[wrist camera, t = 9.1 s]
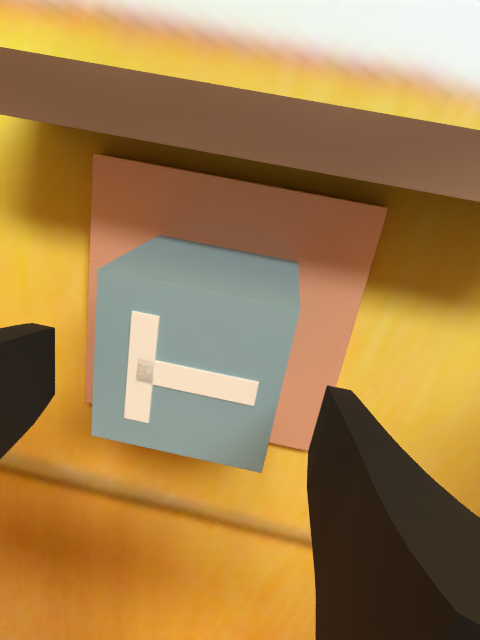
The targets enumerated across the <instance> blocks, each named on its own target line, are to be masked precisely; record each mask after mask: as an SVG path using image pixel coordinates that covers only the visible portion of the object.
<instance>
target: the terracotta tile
mask: <svg viewBox="0 0 480 640" xmlns="http://www.w3.org/2000/svg"><path fill="white" fill-rule="evenodd" d="M387 211H388V208H386V207H384V206H378V205H373V204H367V203H362V202H357V201H351V200H346V199H340V198H335V197H330V196H324V195H319V194H313V193H308V192H303V191H297V190H292V189H286V188H281V187H276V186H270V185H265V184H259V183H254V182H249V181H243V180H238V179H232V178H227V177H222V176H216V175H211V174H205V173H200V172H195V171H189V170H184V169H178V168H173V167H168V166H162V165H157V164H151V163H146V162H141V161H135V160H130V159H124V158H119V157H114V156H108V155H103V154H93V165H92V197H91V228H90V260H89V292H88V323H87V355H86V386H85V403H90V404H92V401H93V374H94V348H95V322H96V296H97V269H98V268H100V267H102V266H104V265H106V264H107V263H109V262H111V261H113V260H115V259H116V258H118V257H120V256H122V255H124V254H125V253H127V252H129V251H131V250H133V249H135V248H136V247H138V246H140V245H142V244H144V243H145V242H147V241H149V240H151V239H153V238H154V237H156V236H158V235H163V236H168V237H173V238H178V239H184V240H189V241H194V242H199V243H204V244H210V245H215V246H220V247H225V248H230V249H235V250H241V251H246V252H251V253H256V254H261V255H267V256H272V257H277V258H282V259H287V260H293V261H298V267H299V290H300V313H299V317H298V321H297V325H296V330H295V334H294V338H293V342H292V347H291V351H290V355H289V359H288V363H287V368H286V372H285V376H284V380H283V385H282V389H281V393H280V397H279V401H278V406H277V410H276V414H275V418H274V423H273V427H272V431H271V435H270V439H269V443H274V444H278V445H283V446H288V447H292V448H297V449H302V450H306V451H308V450H309V446H310V443H311V439H312V436H313V432H314V429H315V425H316V422H317V418H318V415H319V411H320V408H321V404H322V401H323V397H324V394H325V390H326V387H327V385H328V386H333V387H336V384H337V381H338V377H339V374H340V371H341V367H342V364H343V360H344V357H345V354H346V350H347V347H348V343H349V340H350V337H351V333H352V330H353V326H354V323H355V320H356V316H357V313H358V310H359V306H360V303H361V299H362V296H363V293H364V289H365V286H366V282H367V279H368V276H369V272H370V269H371V265H372V262H373V259H374V255H375V252H376V249H377V245H378V242H379V238H380V235H381V232H382V228H383V225H384V221H385V218H386V215H387Z"/></svg>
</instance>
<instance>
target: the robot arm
mask: <svg viewBox="0 0 480 640" xmlns="http://www.w3.org/2000/svg"><path fill="white" fill-rule="evenodd" d="M54 395H55V328H53V327H48V326H44V325H39V324H34V323H30V324H21V325H15V326H10V327H5V328H0V459H1V458H2V457H3V456H4V455H5V454H6V453H7V452H8V451H9V450H10V449H11V448H12V447H13V445H14V444H15V443H16V442H17V441H18V440H19V439H20V438H21V437H22V436H23V435H24V434H25V433H26V432H27V431H28V430H29V429H30V427H31V426H32V425H33V424H34V423H35V422H36V420H37V419H38V418H39V416H40V415H41V414H42V412H43V411H44V409H45V408H46V407H47V405H48V404H49V402H50V401H51V399H52V398H53V396H54ZM307 492H308V504H309V516H310V527H311V537H312V548H313V559H314V570H315V587H316V640H480V518H479V517H478V516H476V515H475V514H474V513H473V512H471V511H470V510H469V509H468V508H466V507H465V506H464V505H463V504H461V503H460V502H459V501H458V500H457V499H455V498H454V497H453V496H452V495H451V494H450V493H449V492H447V491H446V490H445V489H444V488H443V487H442V486H440V485H439V484H438V483H437V482H436V481H435V480H434V479H433V478H431V477H430V476H429V475H428V474H427V473H426V472H425V471H424V470H423V469H422V468H421V467H420V466H419V465H418V464H417V463H416V462H415V461H414V460H413V459H412V458H411V457H410V456H409V455H408V454H407V453H406V452H405V451H404V450H403V449H402V448H401V447H400V446H399V445H398V443H397V442H396V441H395V440H394V439H393V438H392V437H391V436H390V435H389V434H388V432H387V431H386V430H385V429H384V428H383V427H382V426H381V424H380V423H379V422H378V421H377V420H376V419H375V417H374V416H373V415H372V414H371V413H370V411H369V410H368V409H367V408H366V407H365V406H364V404H363V403H362V402H361V401H360V400H359V398H358V397H357V396H356V395H355V394H354V393H353V392H352V391H351V390H347V389H342V388H337V387H333V386H328V385H327V387H326V390H325V394H324V397H323V401H322V404H321V408H320V411H319V415H318V418H317V422H316V425H315V429H314V432H313V436H312V439H311V443H310V446H309V450H308V469H307Z"/></svg>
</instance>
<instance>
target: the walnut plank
mask: <svg viewBox="0 0 480 640" xmlns="http://www.w3.org/2000/svg"><path fill="white" fill-rule="evenodd" d="M0 114H1V115H6V116H12V117H17V118H23V119H28V120H34V121H39V122H45V123H50V124H56V125H61V126H67V127H72V128H78V129H83V130H88V131H94V132H99V133H105V134H110V135H116V136H121V137H127V138H132V139H138V140H143V141H149V142H154V143H160V144H165V145H171V146H176V147H182V148H187V149H193V150H198V151H204V152H209V153H215V154H220V155H226V156H231V157H237V158H242V159H248V160H253V161H258V162H264V163H269V164H275V165H280V166H286V167H291V168H297V169H302V170H308V171H313V172H319V173H324V174H330V175H335V176H341V177H346V178H352V179H357V180H363V181H368V182H374V183H379V184H385V185H390V186H396V187H401V188H407V189H412V190H417V191H423V192H428V193H434V194H439V195H445V196H450V197H456V198H461V199H467V200H472V201H478V202H480V130H475V129H469V128H464V127H458V126H452V125H446V124H441V123H435V122H429V121H423V120H418V119H412V118H406V117H400V116H395V115H389V114H383V113H377V112H371V111H366V110H360V109H354V108H348V107H343V106H337V105H331V104H325V103H320V102H314V101H308V100H302V99H297V98H291V97H285V96H279V95H274V94H268V93H262V92H256V91H251V90H245V89H239V88H233V87H228V86H222V85H216V84H210V83H205V82H199V81H193V80H187V79H181V78H176V77H170V76H164V75H158V74H153V73H147V72H141V71H135V70H130V69H124V68H118V67H112V66H107V65H101V64H95V63H89V62H84V61H78V60H72V59H66V58H61V57H55V56H49V55H43V54H38V53H32V52H26V51H20V50H14V49H9V48H3V47H0Z"/></svg>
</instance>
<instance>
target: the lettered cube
mask: <svg viewBox="0 0 480 640" xmlns="http://www.w3.org/2000/svg"><path fill="white" fill-rule="evenodd" d="M299 313H300V290H299V267H298V261H293V260H287V259H282V258H277V257H272V256H267V255H261V254H256V253H251V252H246V251H241V250H235V249H230V248H225V247H220V246H215V245H210V244H204V243H199V242H194V241H189V240H184V239H178V238H173V237H168V236H163V235H158V236H156V237H154V238H153V239H151V240H149V241H147V242H145V243H144V244H142V245H140V246H138V247H136V248H135V249H133V250H131V251H129V252H127V253H125V254H124V255H122V256H120V257H118V258H116V259H115V260H113V261H111V262H109V263H107V264H106V265H104V266H102V267H100V268H98V269H97V296H96V322H95V348H94V374H93V401H92V427H91V436H96V437H101V438H105V439H110V440H114V441H119V442H123V443H128V444H132V445H137V446H141V447H146V448H151V449H155V450H160V451H164V452H169V453H173V454H178V455H182V456H187V457H191V458H196V459H201V460H205V461H210V462H214V463H219V464H223V465H228V466H232V467H237V468H241V469H246V470H250V471H255V472H260V473H262V469H263V465H264V461H265V456H266V452H267V448H268V444H269V439H270V435H271V431H272V427H273V423H274V418H275V414H276V410H277V406H278V401H279V397H280V393H281V389H282V385H283V380H284V376H285V372H286V368H287V363H288V359H289V355H290V351H291V347H292V342H293V338H294V334H295V330H296V325H297V321H298V317H299Z"/></svg>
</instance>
